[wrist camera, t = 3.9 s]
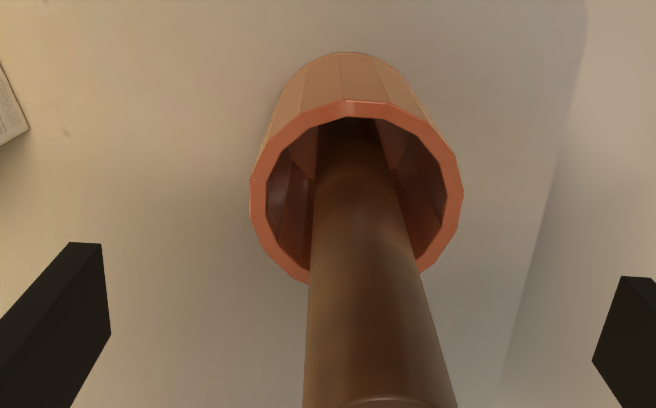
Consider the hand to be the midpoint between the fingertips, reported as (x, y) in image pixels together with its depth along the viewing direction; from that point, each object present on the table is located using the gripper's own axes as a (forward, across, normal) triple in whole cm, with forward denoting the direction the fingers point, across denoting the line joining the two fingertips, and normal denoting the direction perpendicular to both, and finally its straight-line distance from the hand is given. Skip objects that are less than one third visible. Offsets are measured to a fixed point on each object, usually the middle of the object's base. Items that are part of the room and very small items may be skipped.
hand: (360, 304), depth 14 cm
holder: (+16, 0, 0) cm, 16 cm away
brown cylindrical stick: (+15, 0, 0) cm, 15 cm away
